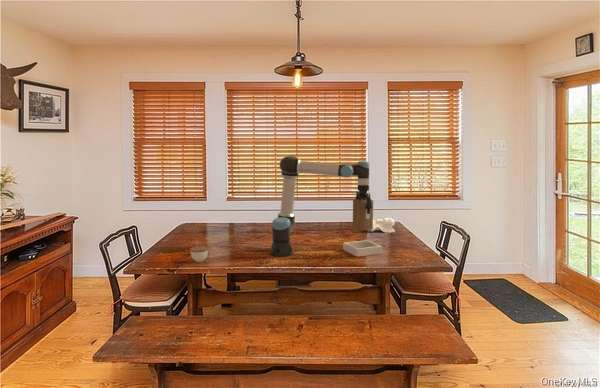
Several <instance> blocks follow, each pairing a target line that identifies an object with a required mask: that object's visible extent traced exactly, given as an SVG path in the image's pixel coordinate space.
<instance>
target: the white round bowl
mask: <svg viewBox="0 0 600 388" xmlns="http://www.w3.org/2000/svg"><path fill="white" fill-rule="evenodd" d="M189 250H190V256H191V259H192V260H193V261H194V262H197V263H200V262H201V263H202V262H203V261H205V260H206V259H207V257H208V255H209V253H208V252H209V248H208V247H207V246H201V245H197V246H194V247H190V249H189Z"/></svg>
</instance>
